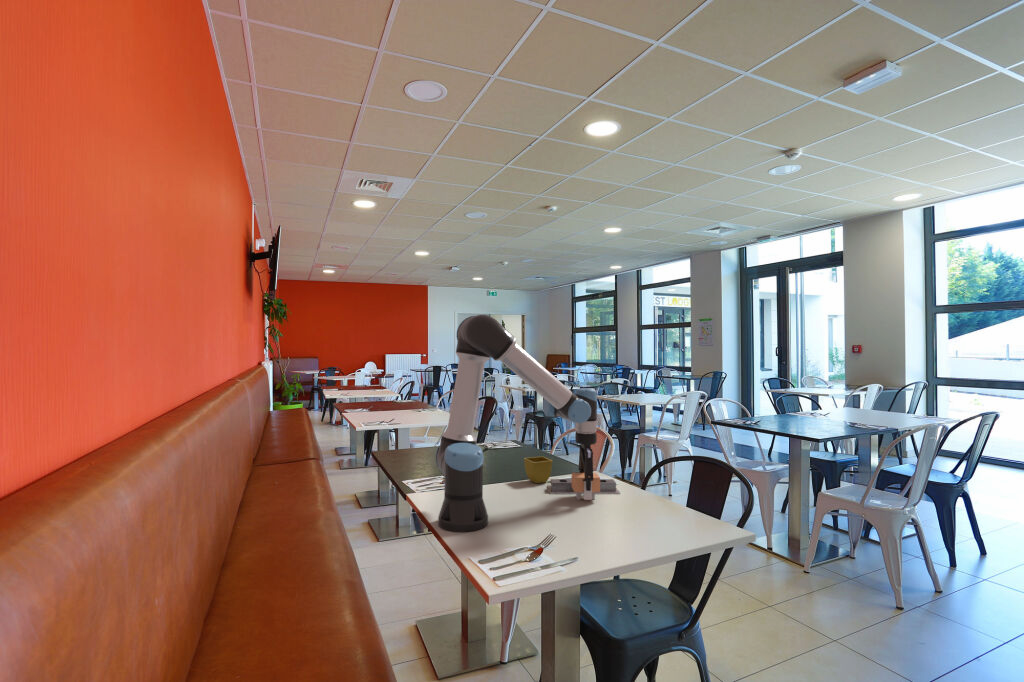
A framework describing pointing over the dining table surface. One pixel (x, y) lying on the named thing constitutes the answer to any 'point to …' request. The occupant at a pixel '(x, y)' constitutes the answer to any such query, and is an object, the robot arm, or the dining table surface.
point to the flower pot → (538, 469)
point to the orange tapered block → (579, 484)
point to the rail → (566, 488)
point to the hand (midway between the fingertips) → (585, 495)
